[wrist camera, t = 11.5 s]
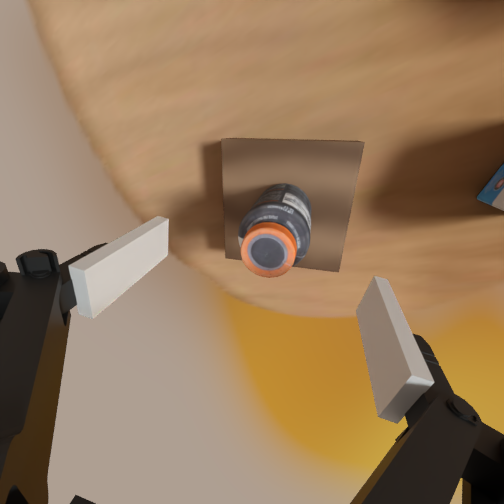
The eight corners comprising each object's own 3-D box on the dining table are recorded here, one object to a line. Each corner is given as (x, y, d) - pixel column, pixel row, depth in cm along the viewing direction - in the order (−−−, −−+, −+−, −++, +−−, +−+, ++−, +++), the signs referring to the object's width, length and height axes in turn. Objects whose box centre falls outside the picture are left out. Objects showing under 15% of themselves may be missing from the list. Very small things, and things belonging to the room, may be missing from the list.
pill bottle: (258, 233, 29) (228, 285, 19) (257, 182, 27) (222, 212, 17) (309, 236, 28) (306, 294, 18) (314, 182, 25) (312, 215, 15)
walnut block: (232, 137, 29) (221, 138, 26) (358, 140, 26) (364, 142, 23) (234, 245, 35) (225, 258, 32) (336, 257, 32) (338, 272, 29)
